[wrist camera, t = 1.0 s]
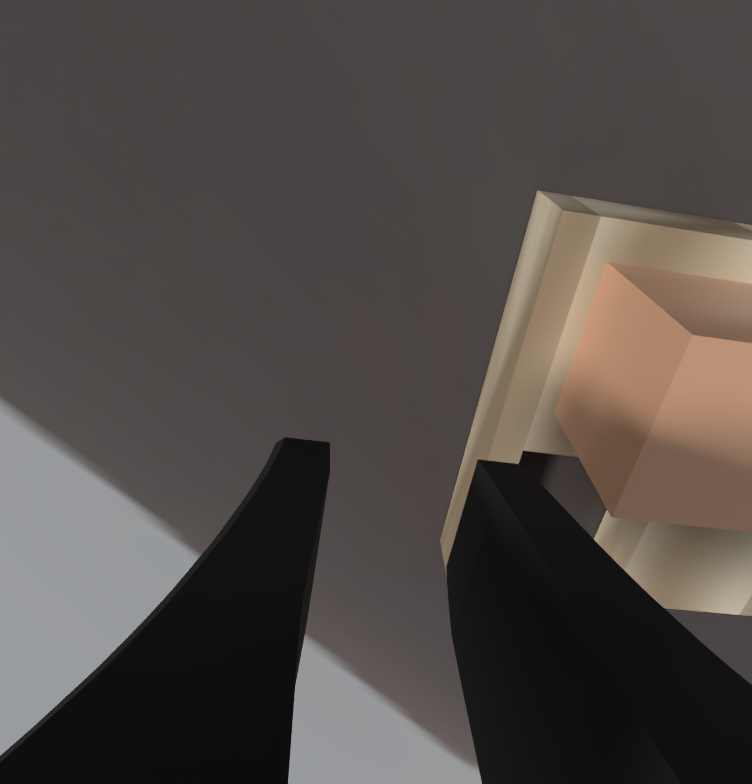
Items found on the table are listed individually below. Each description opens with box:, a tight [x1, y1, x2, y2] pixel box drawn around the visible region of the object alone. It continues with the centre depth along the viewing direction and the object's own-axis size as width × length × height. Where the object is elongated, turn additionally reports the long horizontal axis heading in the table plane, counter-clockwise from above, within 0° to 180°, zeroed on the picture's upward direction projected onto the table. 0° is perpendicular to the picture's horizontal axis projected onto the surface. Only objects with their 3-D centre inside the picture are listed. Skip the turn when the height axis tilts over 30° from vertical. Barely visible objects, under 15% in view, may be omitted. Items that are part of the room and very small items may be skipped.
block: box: [554, 262, 752, 532], centre depth 14 cm, size 4×4×4 cm
